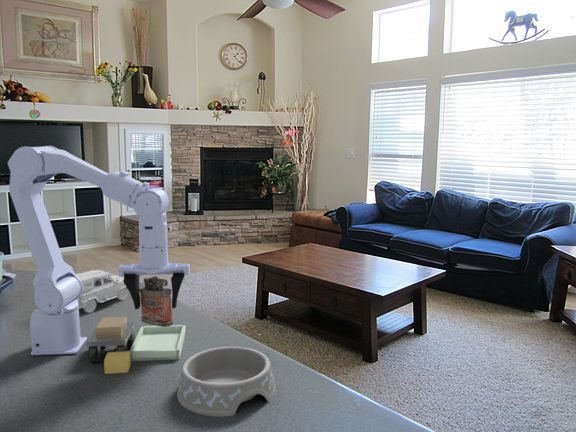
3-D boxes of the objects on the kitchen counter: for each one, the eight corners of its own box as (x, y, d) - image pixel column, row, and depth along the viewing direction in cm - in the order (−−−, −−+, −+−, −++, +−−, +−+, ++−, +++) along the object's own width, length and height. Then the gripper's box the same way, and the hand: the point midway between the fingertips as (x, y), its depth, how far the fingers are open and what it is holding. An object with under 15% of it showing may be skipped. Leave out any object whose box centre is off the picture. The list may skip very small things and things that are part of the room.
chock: (104, 374, 99) (104, 360, 98) (108, 366, 102) (107, 352, 102) (128, 373, 99) (127, 358, 99) (130, 364, 103) (130, 351, 102)
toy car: (136, 297, 145) (134, 263, 143) (79, 319, 128) (76, 281, 126) (111, 292, 150) (109, 259, 148) (52, 312, 132) (49, 276, 131)
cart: (87, 365, 102) (85, 333, 101) (101, 343, 113) (99, 314, 112) (125, 363, 103) (123, 332, 102) (135, 341, 114) (134, 313, 113)
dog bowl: (161, 386, 94) (160, 360, 93) (244, 360, 105) (244, 336, 104) (204, 429, 81) (204, 398, 80) (294, 394, 92) (294, 366, 91)
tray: (129, 361, 104) (128, 352, 103) (141, 334, 118) (141, 326, 117) (179, 359, 105) (179, 350, 104) (185, 332, 119) (185, 324, 118)
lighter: (137, 321, 108) (134, 277, 107) (149, 316, 111) (146, 273, 110) (166, 328, 105) (163, 282, 103) (176, 322, 108) (174, 277, 106)
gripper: (113, 250, 101) (117, 314, 103) (186, 249, 102) (188, 312, 104) (121, 242, 108) (124, 303, 110) (190, 241, 109) (191, 301, 111)
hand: (156, 307), depth 108 cm, fingers open, 7 cm apart
